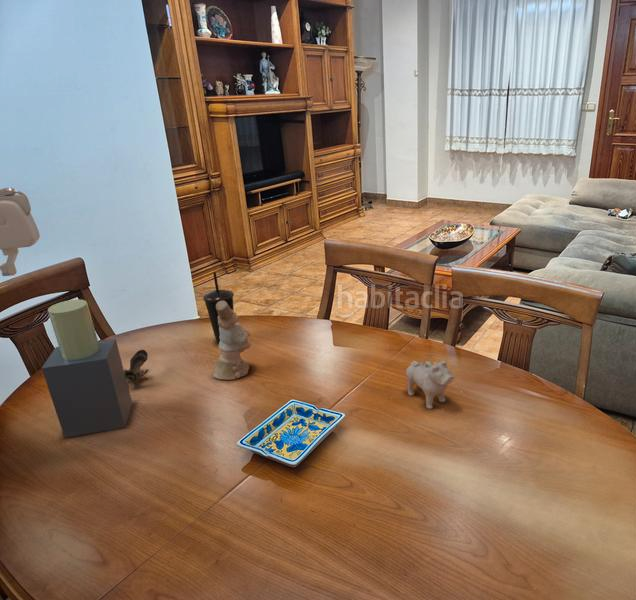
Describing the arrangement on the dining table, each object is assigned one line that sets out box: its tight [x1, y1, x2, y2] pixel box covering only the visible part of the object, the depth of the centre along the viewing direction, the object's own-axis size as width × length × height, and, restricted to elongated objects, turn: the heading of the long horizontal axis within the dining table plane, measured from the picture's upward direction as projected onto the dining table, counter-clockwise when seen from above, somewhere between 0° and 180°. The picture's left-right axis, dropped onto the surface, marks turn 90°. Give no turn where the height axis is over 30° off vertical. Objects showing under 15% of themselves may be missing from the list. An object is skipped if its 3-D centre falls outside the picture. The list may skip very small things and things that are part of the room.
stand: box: [41, 338, 133, 439], centre depth 104 cm, size 11×9×16 cm
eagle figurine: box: [124, 349, 149, 390], centre depth 120 cm, size 8×7×9 cm
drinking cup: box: [202, 271, 235, 346], centre depth 135 cm, size 8×8×20 cm
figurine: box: [212, 301, 251, 381], centre depth 120 cm, size 9×8×20 cm
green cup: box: [47, 299, 100, 360], centre depth 99 cm, size 6×6×10 cm
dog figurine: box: [405, 360, 455, 410], centre depth 109 cm, size 5×13×11 cm, turn 39°
